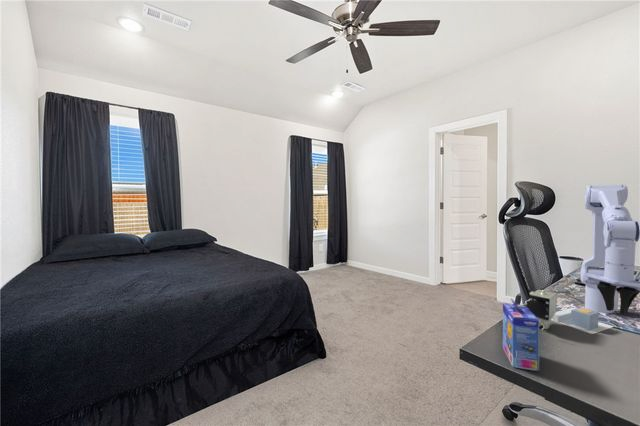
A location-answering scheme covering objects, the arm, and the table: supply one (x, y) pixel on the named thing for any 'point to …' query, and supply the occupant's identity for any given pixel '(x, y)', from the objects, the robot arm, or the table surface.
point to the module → (584, 318)
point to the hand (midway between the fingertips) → (616, 311)
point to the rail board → (565, 319)
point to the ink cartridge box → (521, 336)
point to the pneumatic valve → (543, 306)
